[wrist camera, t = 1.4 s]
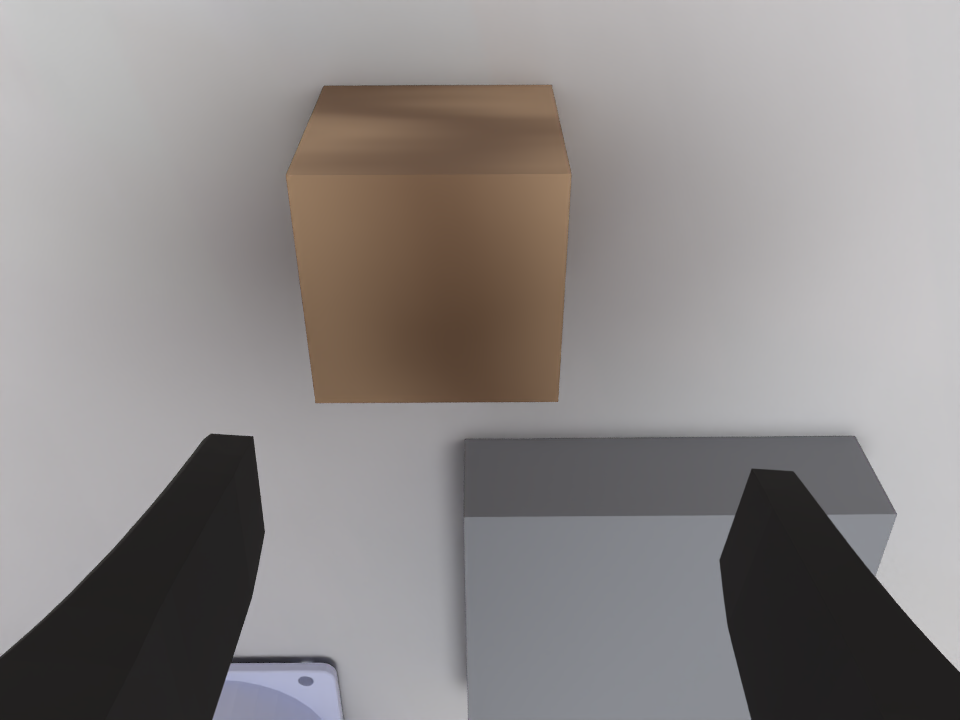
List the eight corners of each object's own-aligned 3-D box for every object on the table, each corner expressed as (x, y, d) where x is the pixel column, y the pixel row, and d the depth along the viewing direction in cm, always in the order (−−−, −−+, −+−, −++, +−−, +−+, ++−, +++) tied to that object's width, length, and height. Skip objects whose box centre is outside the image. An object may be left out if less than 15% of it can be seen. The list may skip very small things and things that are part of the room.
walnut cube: (343, 282, 23) (315, 403, 19) (324, 84, 20) (285, 175, 16) (542, 281, 23) (558, 401, 19) (551, 83, 20) (571, 173, 16)
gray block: (469, 672, 32) (469, 764, 29) (464, 430, 26) (463, 517, 23) (780, 669, 32) (810, 761, 29) (850, 427, 26) (897, 514, 23)
